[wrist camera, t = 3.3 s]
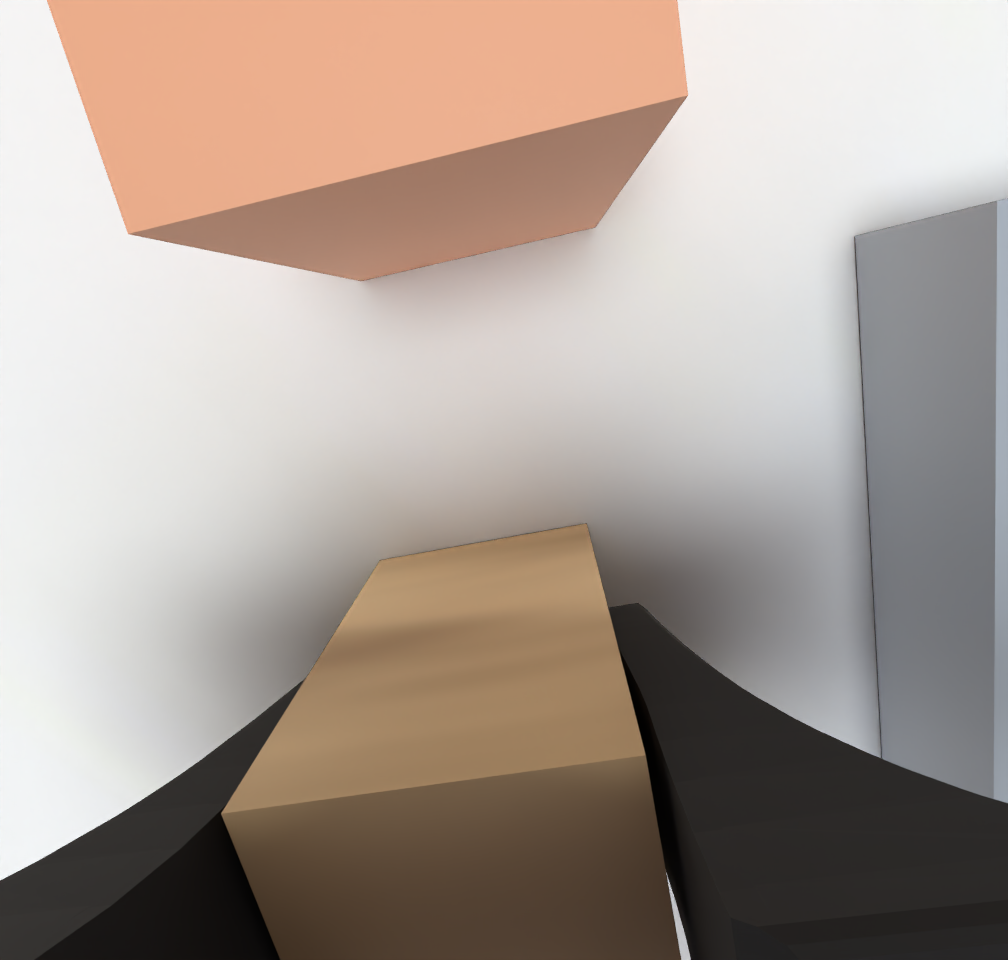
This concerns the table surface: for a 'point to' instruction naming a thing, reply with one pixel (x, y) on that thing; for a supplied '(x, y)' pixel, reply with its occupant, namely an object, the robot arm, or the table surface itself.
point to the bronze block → (462, 773)
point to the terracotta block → (370, 120)
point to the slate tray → (939, 489)
